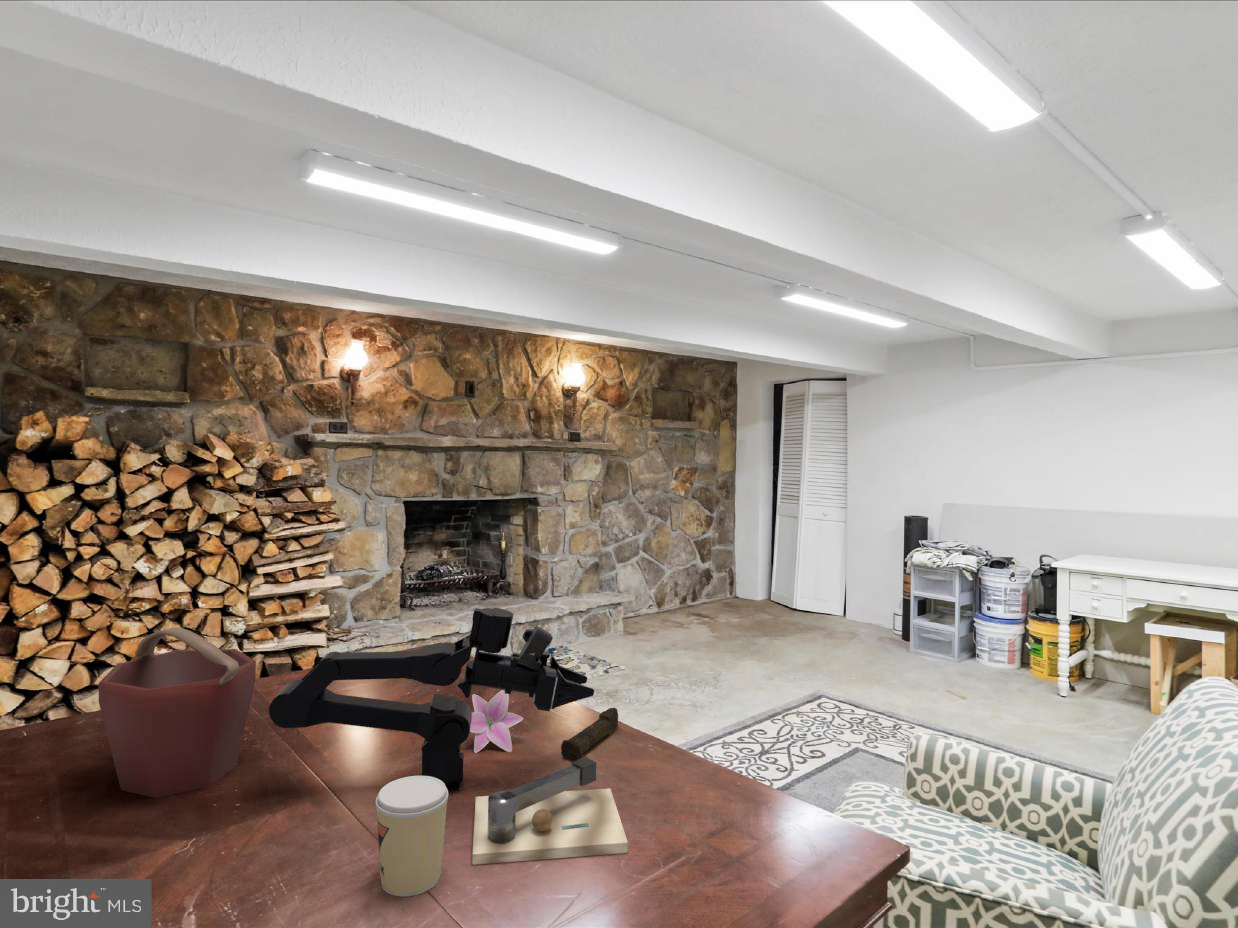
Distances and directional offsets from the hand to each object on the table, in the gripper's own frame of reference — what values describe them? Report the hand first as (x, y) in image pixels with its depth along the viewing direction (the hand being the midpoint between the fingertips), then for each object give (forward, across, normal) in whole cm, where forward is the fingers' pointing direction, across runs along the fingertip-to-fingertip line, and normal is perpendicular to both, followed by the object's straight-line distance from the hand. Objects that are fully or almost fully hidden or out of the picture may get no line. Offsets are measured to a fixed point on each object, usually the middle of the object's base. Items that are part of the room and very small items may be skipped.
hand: (590, 685), depth 125 cm
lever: (-6, -13, +17) cm, 23 cm away
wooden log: (+5, +16, +14) cm, 22 cm away
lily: (-14, +17, +18) cm, 28 cm away
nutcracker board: (-5, -14, +19) cm, 24 cm away
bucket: (-66, +11, +28) cm, 73 cm away
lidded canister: (-23, -24, +24) cm, 41 cm away
